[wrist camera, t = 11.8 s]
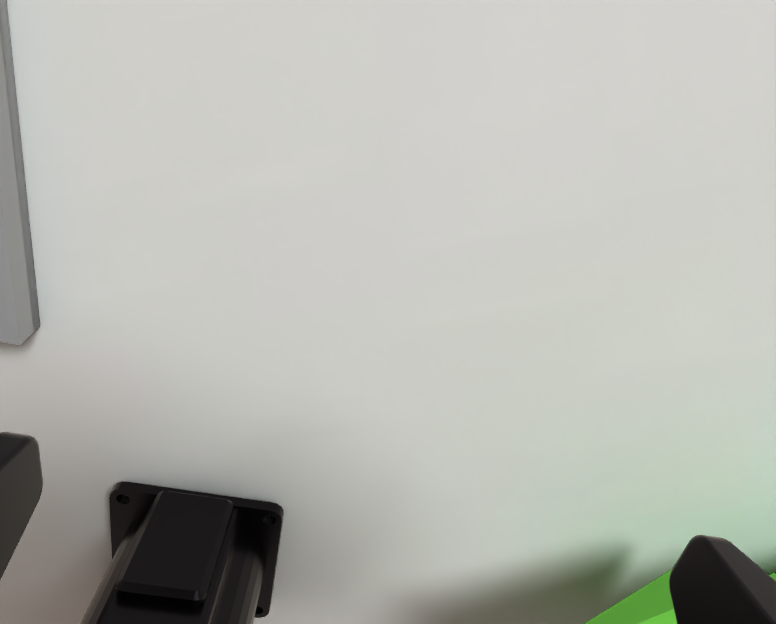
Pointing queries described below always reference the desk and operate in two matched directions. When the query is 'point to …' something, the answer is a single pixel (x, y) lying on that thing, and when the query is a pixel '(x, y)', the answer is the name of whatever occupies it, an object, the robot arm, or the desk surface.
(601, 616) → the green faceted polyhedron
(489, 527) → the desk surface
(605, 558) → the desk surface
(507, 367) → the desk surface
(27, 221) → the display tray
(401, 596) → the desk surface
